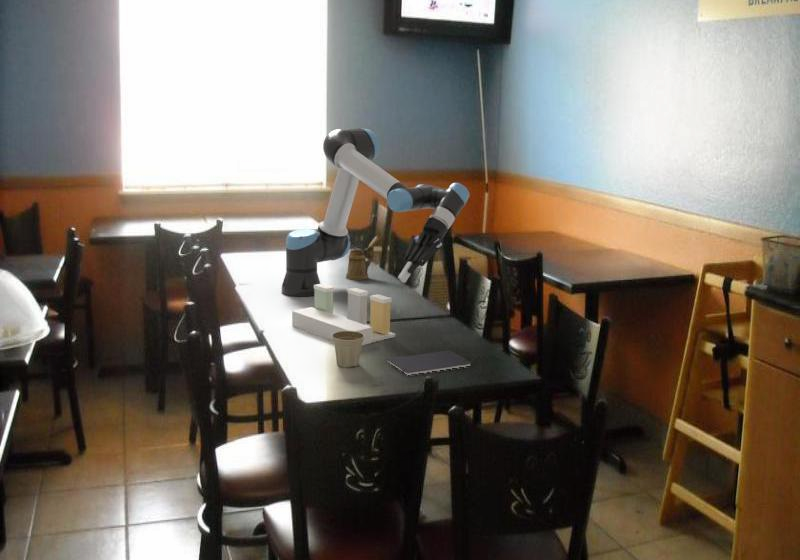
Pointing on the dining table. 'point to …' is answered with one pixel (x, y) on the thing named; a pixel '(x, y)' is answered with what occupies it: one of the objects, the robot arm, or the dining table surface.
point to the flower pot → (348, 347)
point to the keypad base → (333, 325)
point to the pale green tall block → (324, 297)
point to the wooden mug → (360, 262)
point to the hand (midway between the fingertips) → (401, 280)
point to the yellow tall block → (380, 313)
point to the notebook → (428, 362)
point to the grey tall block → (357, 305)
